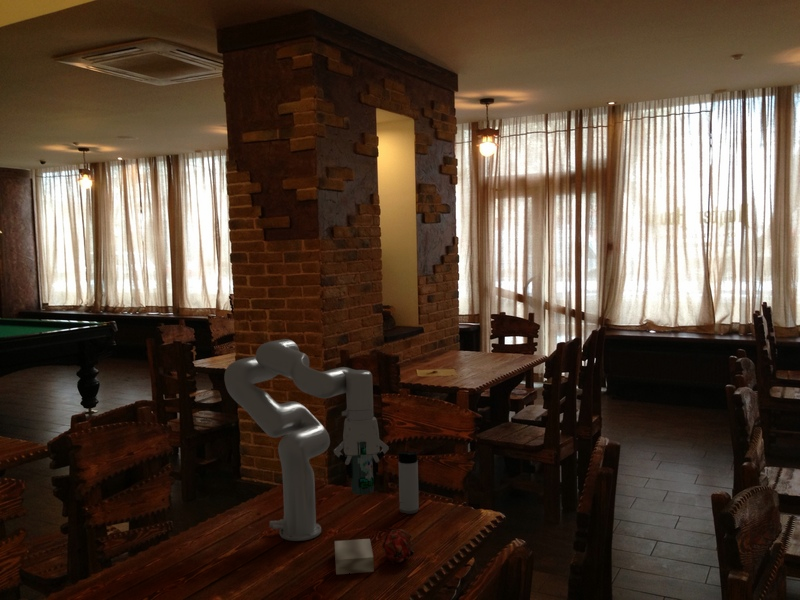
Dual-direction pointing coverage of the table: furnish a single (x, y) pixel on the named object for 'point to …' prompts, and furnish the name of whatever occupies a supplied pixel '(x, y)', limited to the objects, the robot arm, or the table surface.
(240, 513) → the table surface
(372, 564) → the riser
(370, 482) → the can
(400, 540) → the dragon fruit
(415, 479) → the travel mug
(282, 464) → the robot arm
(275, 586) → the table surface
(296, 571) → the table surface
